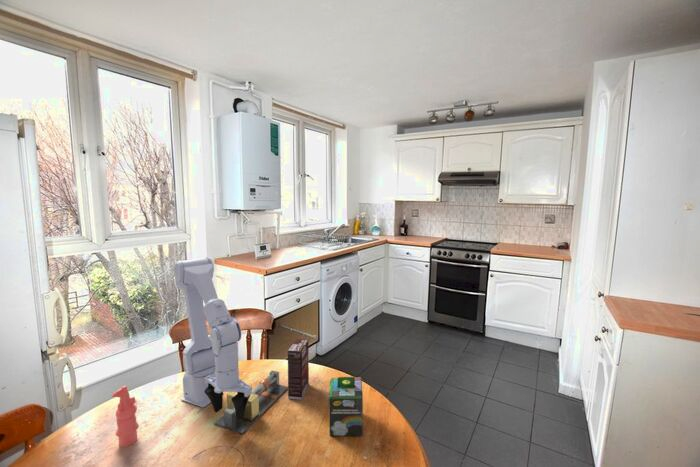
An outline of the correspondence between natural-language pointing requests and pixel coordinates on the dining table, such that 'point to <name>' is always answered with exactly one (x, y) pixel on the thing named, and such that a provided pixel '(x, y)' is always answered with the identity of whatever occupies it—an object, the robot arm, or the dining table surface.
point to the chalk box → (346, 406)
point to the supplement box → (298, 369)
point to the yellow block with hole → (251, 405)
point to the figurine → (126, 418)
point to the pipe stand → (267, 396)
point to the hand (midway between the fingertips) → (229, 413)
